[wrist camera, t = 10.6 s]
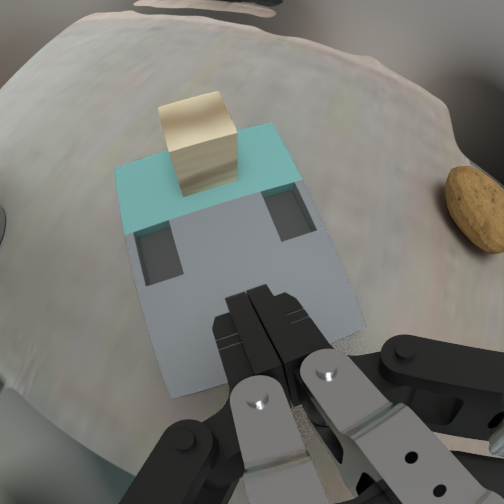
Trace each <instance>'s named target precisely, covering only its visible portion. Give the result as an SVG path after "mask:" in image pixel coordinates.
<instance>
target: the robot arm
mask: <svg viewBox="0 0 504 504" xmlns="http://www.w3.org/2000/svg"><path fill="white" fill-rule="evenodd" d="M4 228H5V213H4V210H3V208H2V207H1V206H0V242H1V239H2V236H3V233H4ZM225 301H226V304H227V307H228V310H229V312H228V313H225V314H222V315H219V316H216V317H215V319H214V323H213V326H212V331H213V334H214V337H215V341H216V344H217V348H218V351H219V354H220V358H221V361H222V364H223V368H224V371H225V374H226V377H227V380H228V384H229V388H230V393H229V398H228V400H227V402H226V404H225V405H224V407H223V408H222V409H221V410H220V411H219V412H217V413H216V414H215V415H213V416H212V417H210V418H208V419H207V420H205V421H204V422H199V421H196V420H190V419H189V420H181V421H178V422H176V423H174V424H172V425H171V426H169V427H168V428H167V429H166V430H165V432H164V433H163V435H162V436H161V438H160V440H159V441H158V443H157V444H156V446H155V448H154V449H153V451H152V452H151V454H150V455H149V457H148V459H147V460H146V462H145V463H144V465H143V467H142V468H141V470H140V471H139V473H138V474H137V476H136V478H135V479H134V481H133V482H132V484H131V485H130V487H129V488H128V490H127V492H126V493H125V495H124V496H123V498H122V499H121V501H120V502H119V504H228V502H229V500H230V498H231V496H232V494H233V492H234V490H235V488H236V486H237V484H238V481H239V479H240V477H242V476H243V478H244V484H245V488H246V492H247V496H248V500H249V504H330V503H329V501H328V498H327V496H326V493H325V491H324V488H323V486H322V483H321V481H320V479H319V476H318V474H317V471H316V469H315V466H314V464H313V461H312V459H311V457H310V455H309V453H308V452H307V450H306V448H305V445H304V443H303V440H302V438H301V435H300V433H299V430H298V427H297V425H296V422H295V420H294V417H293V414H292V412H291V409H290V408H292V407H291V402H292V404H293V406H294V407H295V406H297V405H300V404H302V406H303V408H304V410H305V412H306V414H307V420H308V423H309V425H310V426H311V428H312V430H313V431H314V433H315V434H316V436H317V437H318V439H319V440H320V442H321V443H322V445H323V446H324V448H325V449H326V451H327V452H328V454H329V455H330V457H331V458H332V460H333V461H334V463H335V464H336V466H337V468H338V470H339V472H340V475H341V477H342V479H343V481H344V483H345V484H346V486H347V487H348V489H349V490H350V492H351V493H352V495H353V496H354V499H352V500H349V501H345V502H341V503H336V504H504V459H503V458H496V457H489V456H483V455H477V454H472V453H466V452H461V451H449V450H448V449H447V447H446V446H445V445H444V444H443V443H442V442H441V441H440V440H439V439H438V438H437V437H436V436H435V434H434V433H433V432H437V433H442V434H448V435H453V436H459V437H465V438H471V439H478V440H485V441H489V444H490V445H489V452H490V453H491V454H492V455H498V456H501V457H504V353H503V352H497V351H491V350H485V349H480V348H474V347H468V346H463V345H458V344H452V343H447V342H442V341H437V340H432V339H427V338H422V337H417V336H412V335H397V336H394V337H392V338H390V339H388V340H387V341H386V342H385V343H384V345H383V347H382V349H381V352H376V353H371V354H366V355H359V356H350V355H346V354H345V353H343V352H341V351H339V350H336V349H334V348H333V347H332V346H331V345H330V344H329V342H328V341H327V339H326V338H325V337H324V335H323V334H322V333H321V331H320V330H319V328H318V327H317V326H316V324H315V323H314V322H313V320H312V319H311V318H310V317H309V315H308V313H307V312H306V311H305V309H303V307H302V305H301V304H300V302H299V301H298V300H297V298H295V297H293V296H291V295H289V294H288V293H286V292H284V293H281V294H278V295H276V296H274V295H273V294H272V292H271V291H270V289H269V287H268V286H267V284H263V285H260V286H258V287H255V288H252V289H249V290H246V293H245V291H244V292H241V293H238V294H235V295H232V296H229V297H226V298H225ZM290 400H291V402H290ZM432 431H433V432H432Z"/></svg>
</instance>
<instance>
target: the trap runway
mask: <svg viewBox="0 0 504 504" xmlns="http://www.w3.org/2000/svg"><path fill="white" fill-rule="evenodd" d="M237 133H238V151H237V181H236V182H232V183H229V184H225V185H222V186H219V187H215V188H212V189H209V190H205V191H202V192H199V193H196V194H193V195H189V196H186V197H183V194H182V191H181V188H180V185H179V182H178V179H177V176H176V173H175V170H174V167H173V164H172V161H171V157H170V154H169V151H168V150H166V151H163V152H160V153H157V154H154V155H151V156H148V157H145V158H142V159H139V160H136V161H134V162H131V163H128V164H125V165H123V166H120V167H117V168H115V169H114V172H115V180H116V187H117V194H118V200H119V206H120V212H121V218H122V224H123V229H124V234H125V239H126V244H127V249H128V254H129V259H130V263H131V268H132V272H133V276H134V280H135V285H136V289H137V293H138V296H139V300H140V304H141V308H142V311H143V315H144V319H145V322H146V326H147V329H148V332H149V336H150V339H151V342H152V345H153V349H154V352H155V355H156V358H157V361H158V364H159V367H160V370H161V373H162V376H163V378H164V381H165V384H166V387H167V390H168V392H169V395H170V398H171V399H174V398H178V397H182V396H185V395H189V394H192V393H196V392H199V391H203V390H206V389H209V388H213V387H216V386H219V385H222V384H226V383H228V380H227V377H226V374H225V371H224V368H223V364H222V361H221V358H220V354H219V351H218V348H217V344H216V341H215V337H214V334H213V331H212V326H213V323H214V319H215V317H216V316H219V315H222V314H225V313H228V312H229V310H228V307H227V304H226V301H225V298H226V297H229V296H232V295H235V294H238V293H241V292H244V291H245V293H246V290H249V289H252V288H255V287H258V286H260V285H263V284H267V286H268V287H269V289H270V291H271V292H272V294H273V295H274V296H276V295H278V294H281V293H284V292H286V293H288V294H289V295H291V296H293V297H295V298H297V300H298V301H299V302H300V304H301V305H302V307H303V309H305V311H306V312H307V313H308V315H309V317H310V318H311V319H312V320H313V322H314V323H315V324H316V326H317V327H318V328H319V330H320V331H321V333H322V334H323V335H324V337H325V338H326V339H327V341H328V342H329V344H331V343H333V342H336V341H338V340H340V339H342V338H344V337H347V336H349V335H351V334H353V333H355V332H357V331H359V330H361V329H363V328H366V327H367V325H366V322H365V320H364V317H363V314H362V312H361V309H360V307H359V304H358V302H357V299H356V297H355V294H354V292H353V289H352V287H351V284H350V282H349V280H348V277H347V275H346V272H345V270H344V268H343V265H342V263H341V261H340V258H339V256H338V254H337V252H336V249H335V247H334V245H333V243H332V240H331V238H330V236H329V234H328V232H327V229H326V227H325V225H324V223H323V221H322V219H321V216H320V214H319V212H318V210H317V208H316V206H315V204H314V202H313V200H312V198H311V196H310V193H309V191H308V189H307V187H306V185H305V183H304V181H303V179H302V177H301V175H300V173H299V171H298V170H297V168H296V166H295V164H294V162H293V160H292V158H291V156H290V154H289V152H288V150H287V148H286V147H285V145H284V143H283V141H282V139H281V137H280V135H279V134H278V132H277V130H276V128H275V126H274V124H273V123H267V124H263V125H258V126H254V127H249V128H245V129H241V130H237Z"/></svg>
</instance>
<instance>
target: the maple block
mask: <svg viewBox="0 0 504 504" xmlns="http://www.w3.org/2000/svg"><path fill="white" fill-rule="evenodd" d="M158 111H159V115H160V119H161V123H162V127H163V131H164V135H165V139H166V143H167V147H168V151H169V154H170V157H171V161H172V164H173V167H174V170H175V173H176V176H177V179H178V182H179V185H180V188H181V191H182V194H183V197H186V196H189V195H193V194H196V193H199V192H202V191H205V190H209V189H212V188H215V187H219V186H222V185H225V184H229V183H232V182H236V181H237V151H238V133H237V130H236V128H235V126H234V124H233V122H232V119H231V117H230V115H229V113H228V111H227V109H226V106H225V104H224V102H223V100H222V98H221V96H220V94H219V92H218V91H217V92H212V93H208V94H204V95H200V96H196V97H192V98H188V99H185V100H181V101H178V102H174V103H171V104H167V105H164V106H161V107H158Z"/></svg>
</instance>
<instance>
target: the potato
mask: <svg viewBox="0 0 504 504" xmlns="http://www.w3.org/2000/svg"><path fill="white" fill-rule="evenodd" d="M445 192H446V202H447V208H448V210H449V213H450V215H451V217H452V218H453V220H454V221H455V223H456V224H457V226H458V227H459V228H460V229H461V231H462V232H463V233H464V234H465V235H466V236H467V237H468V238H469V239H470V241H472V242H473V243H474V244H475V245H477V246H478V247H480V248H481V249H482V250H484V251H486V252H489V253H492V254H496V253H502V252H504V191H503V189H502V188H501V186H500V185H498V184H497V183H496V182H495V181H494V180H492V179H491V178H489V177H488V176H486V175H485V174H484V173H482V172H481V171H479V170H477V169H475V168H473V167H470V166H460V167H456V168H453V169H451V171H450V173H449V175H448V178H447V182H446V187H445Z"/></svg>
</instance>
